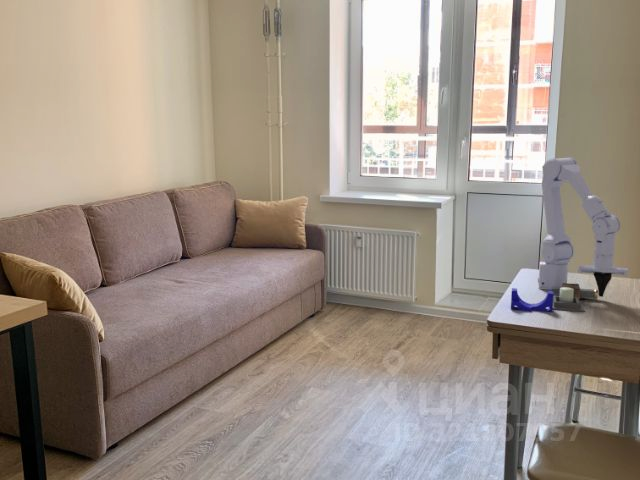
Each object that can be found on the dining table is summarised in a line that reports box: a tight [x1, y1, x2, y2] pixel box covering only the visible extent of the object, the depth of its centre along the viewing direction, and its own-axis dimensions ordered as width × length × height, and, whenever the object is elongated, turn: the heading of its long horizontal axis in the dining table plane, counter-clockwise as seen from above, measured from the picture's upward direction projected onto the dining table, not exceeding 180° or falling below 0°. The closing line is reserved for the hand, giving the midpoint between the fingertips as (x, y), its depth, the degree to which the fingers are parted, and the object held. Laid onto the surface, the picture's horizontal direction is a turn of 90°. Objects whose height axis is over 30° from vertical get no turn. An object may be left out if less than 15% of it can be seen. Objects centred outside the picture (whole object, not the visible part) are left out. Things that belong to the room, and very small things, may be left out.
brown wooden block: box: [562, 282, 581, 301], centre depth 216 cm, size 5×6×4 cm
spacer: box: [559, 287, 574, 303], centre depth 207 cm, size 4×4×5 cm
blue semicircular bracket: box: [510, 287, 553, 313], centre depth 203 cm, size 12×4×6 cm, turn 73°
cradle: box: [552, 296, 585, 313], centre depth 208 cm, size 10×10×2 cm
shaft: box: [551, 287, 599, 300], centre depth 216 cm, size 14×3×3 cm, turn 74°
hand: (600, 295), depth 214 cm, fingers closed
